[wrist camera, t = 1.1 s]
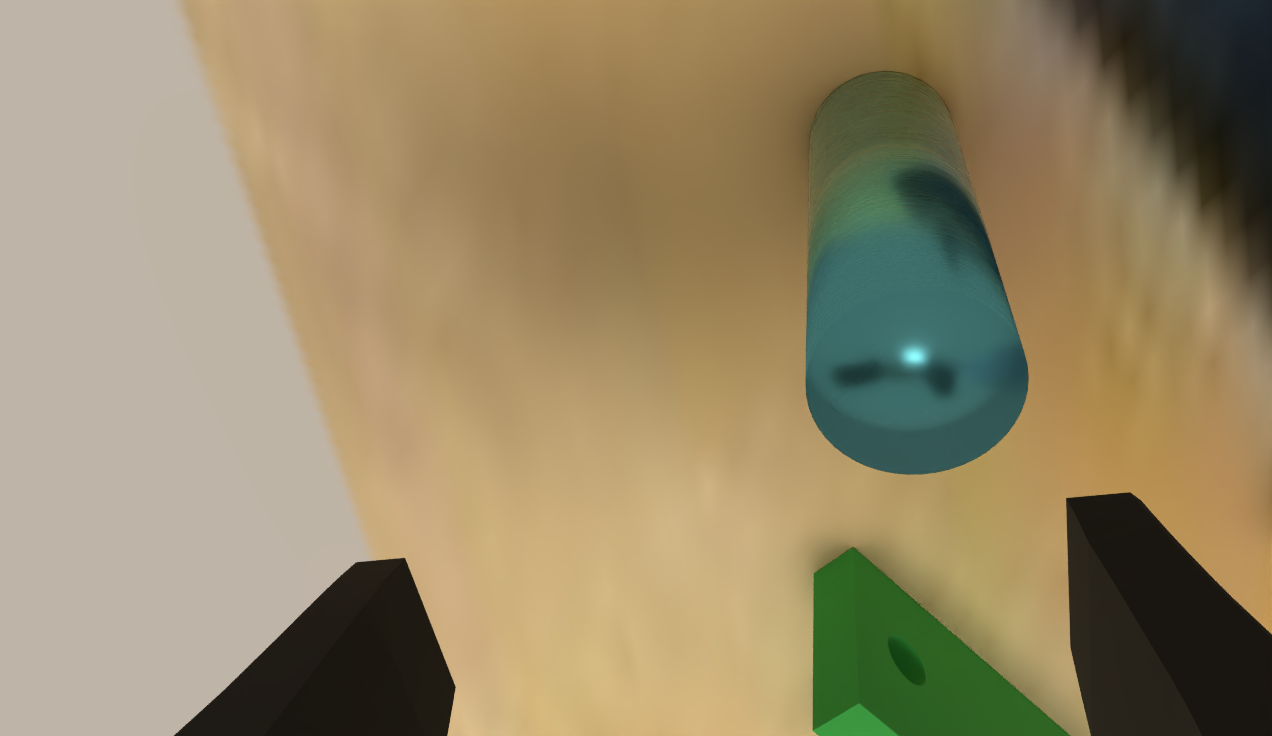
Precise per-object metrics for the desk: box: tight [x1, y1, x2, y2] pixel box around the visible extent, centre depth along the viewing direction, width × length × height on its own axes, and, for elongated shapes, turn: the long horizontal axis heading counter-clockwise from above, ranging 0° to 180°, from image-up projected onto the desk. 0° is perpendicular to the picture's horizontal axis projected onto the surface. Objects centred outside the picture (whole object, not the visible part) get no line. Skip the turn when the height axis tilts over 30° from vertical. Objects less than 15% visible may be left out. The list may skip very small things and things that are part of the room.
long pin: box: [806, 71, 1029, 474], centre depth 16 cm, size 2×2×8 cm
